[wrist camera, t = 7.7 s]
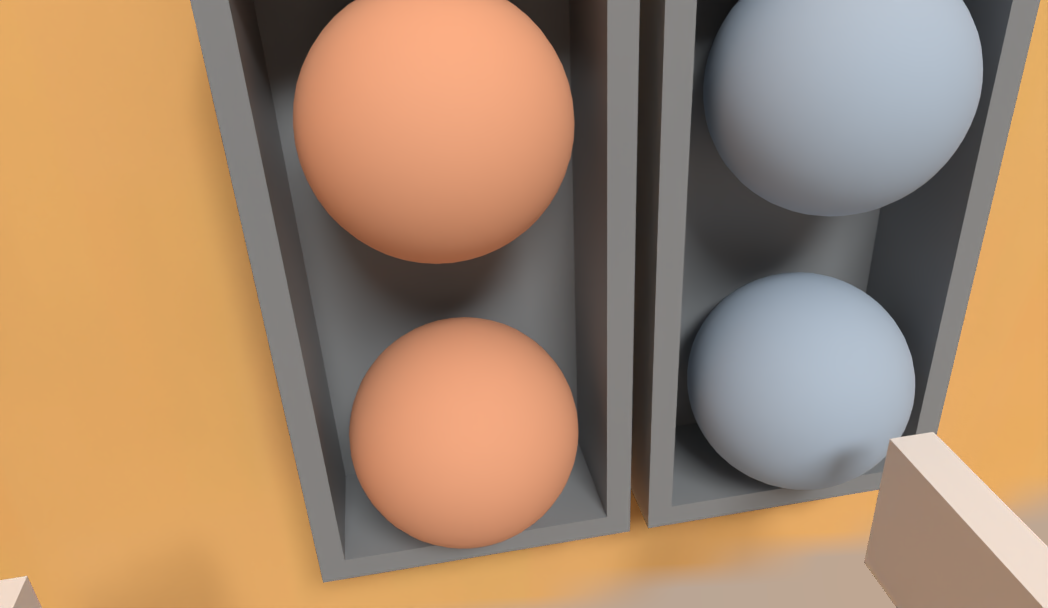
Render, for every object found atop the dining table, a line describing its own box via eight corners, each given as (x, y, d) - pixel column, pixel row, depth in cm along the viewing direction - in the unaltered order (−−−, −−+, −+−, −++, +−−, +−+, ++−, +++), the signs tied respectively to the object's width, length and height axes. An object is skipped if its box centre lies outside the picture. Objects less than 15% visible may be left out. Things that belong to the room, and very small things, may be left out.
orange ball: (365, 464, 19) (367, 618, 15) (335, 292, 17) (327, 421, 13) (556, 436, 19) (604, 578, 16) (550, 266, 17) (603, 383, 14)
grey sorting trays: (328, 491, 20) (324, 589, 17) (209, -81, 14) (175, -65, 11) (854, 411, 21) (923, 488, 19) (949, -128, 15) (1070, -122, 13)
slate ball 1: (664, 179, 17) (755, 274, 13) (673, -58, 15) (784, -26, 11) (867, 156, 17) (1010, 241, 14) (903, -75, 15) (1085, -50, 12)
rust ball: (322, 216, 16) (313, 330, 12) (279, -30, 14) (250, 15, 10) (548, 191, 17) (606, 293, 13) (540, -48, 14) (606, -12, 11)
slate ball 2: (655, 418, 20) (728, 554, 16) (662, 250, 18) (746, 360, 14) (830, 392, 20) (939, 517, 17) (856, 226, 18) (989, 326, 14)
